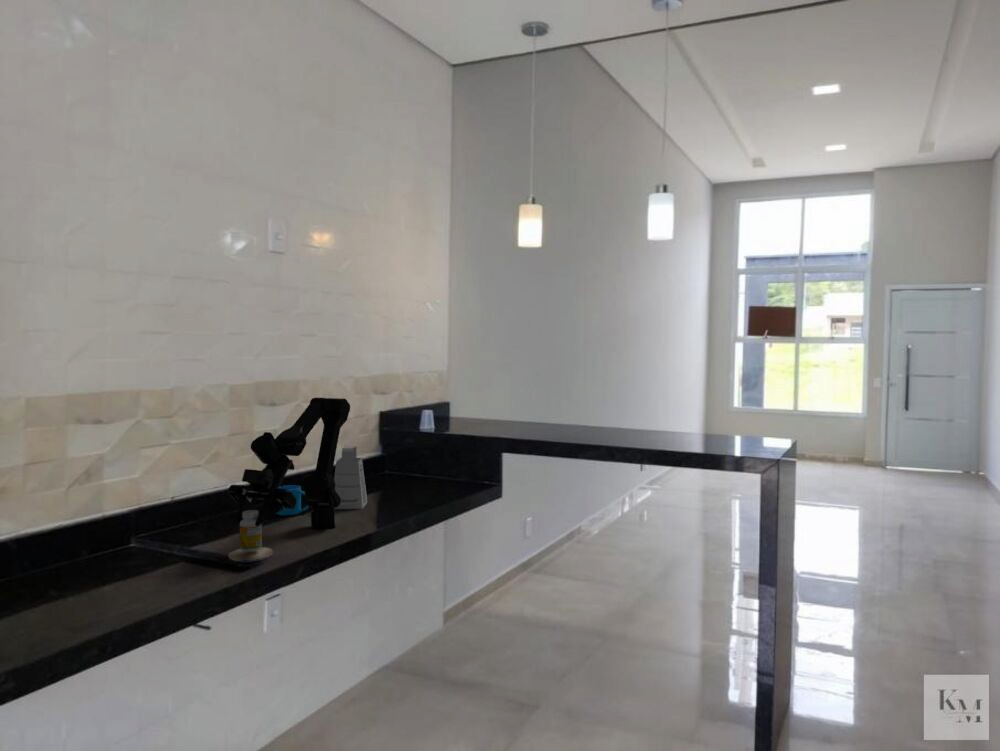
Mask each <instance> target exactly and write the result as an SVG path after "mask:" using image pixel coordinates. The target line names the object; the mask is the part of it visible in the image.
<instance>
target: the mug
mask: <svg viewBox="0 0 1000 751" xmlns="http://www.w3.org/2000/svg"><path fill="white" fill-rule="evenodd" d="M279 488H280V489H289V490H290V492H291V493H292V494H293V495H294V497H295V498H296V505H295V507H294V509H287V508H284V506H283V508H284V509H283V510H282V511H279V512H277V513H276V514H275V515H277V514H279V515H278V516H292V515H293V516H294V515H298V514H301V513H302V512H304V511H306V510H307V509H309V507H310V506H308V505H307V504H306V505H305V506H304V507H303V508H302V495H303V496H305V490H304V491H303V490H302V486H300V485H291V484H289V485H283V487H279Z"/></svg>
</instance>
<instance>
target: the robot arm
mask: <svg viewBox="0 0 1000 751" xmlns="http://www.w3.org/2000/svg"><path fill="white" fill-rule="evenodd" d="M350 411H351V404H350V403H349V401H348V400H347V399H346V398H337V397H336V398H335V397H332V398H331V397H328V398H327V397H312V398H311V399H310V401H309V404H308V405H307V407H306V408H305V409H304V411H303V412H302V413H301V415H300V416H299V417H298V418H297V419H296V421H295V423H293V425H291V427H289V428H286V429H285V430H283V431H281V432H280V433H279V434H278V435H277V436H276V438H275V437H274V435H273V433H272V432H268V431H264V432H263V434H262V435H259V436H258V437H257V436H256V438H255V439H254V440H252V441H251V444H250V450H251V451H252V452H253V453H254V455H255V456H256V457H257V459H258V460H259V461H260V463H262V464H264V465H265V467H264V468H263V469H262V470H257V469H249V468H246V469H244V472H243V475H242V478H241V482H243V483H248V484H249V485H248V486H249V488H251V489H252V490H249V489H248V488H247V487H246V486H245V485H243V484H231V485H230V486H229V487H228V489H227V490H226V493H227V494H228V495H229V496H230V497H231V498H232V500H233V501H234V502H235V503H236V504H238V511H237V517H236V523H237V524H238V525H240V522H241V521H242V520H243V518H242V513H243V512H244V511H247V510H254V507H255V506H254V504H253V503H251V502H252V499H253V500H261V501H264V502H263V505H262V507H261V510H260V512H259V515H258V518H257V520H256V522H255V525H256V526H259V525H260V524H264V522H266V521H267V520H268V519H270V518H271V517H273V516H274V515H277V514H276V513H277V512H279V511H282V510H283V509H284V508H287V509H294V507H295V505H296V498H295V497H294V495H293V494H292V493H291V492H290V490H289V489H280V488H279V487H283V486H285V483H284V479H285V476H286V475H287V473H288V470H289V471H290V470H292V471H294V470H295V465H294V461H293V459H290V458H289V457H299V456H300V455H301V454H302V453H303V451H304V449H305V447H306V445H307V437H308V435H309V434H310V433H311V431H312V430H313V429H314V428H315V426H316V425H317V423H318V422H319V421H320V419H321V421H322V423H323V429H322V435H321V438H320V439H321V440H320V444H319V451H318V455H317V461H316V462H317V463H316V465H315V471H314V473H312V475H308V476H307V478H306V484H305V486H304V492H305V495H304V497H305V500H306V505H308V506H309V507H312V509H311V512H310V525H311V526H312V529H313V530H314V529H319V530H320V529H334V528H336V521H335V520H336V519H335V518H336V517H335V511H336V509H335V507H338V506H339V505H340V501H341V498H340V496H339V495H338V494H337V492H336V491H335V481H334V477H333V469H334V465H335V459H336V458H335V457H336V454H337V448H338V442H339V438H340V431H341V428H342V427H343V425H345V423H346V422H347V420H348V417H349V414H350ZM288 456H289V457H288ZM283 506H284V508H283Z"/></svg>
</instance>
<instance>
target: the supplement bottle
mask: <svg viewBox="0 0 1000 751" xmlns="http://www.w3.org/2000/svg"><path fill="white" fill-rule="evenodd" d="M259 513H260V512H259V510H258V509H252V510H247V511H244V512H243V513H242V518H243V520H242V521H241V522H240V524H239V549H241V550H242V551H255V550H259V549H261V548H262V547H263V532H262V531H263V530H262V529H263V526H262V524H263V523H262V524H260V525H259V526H256V525H255V522H256V520H257V518H258V515H259Z"/></svg>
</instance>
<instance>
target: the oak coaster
mask: <svg viewBox="0 0 1000 751" xmlns="http://www.w3.org/2000/svg"><path fill="white" fill-rule="evenodd" d="M272 554H273V555H274V549H272V548H270V547H265V546H262V548H261V549H259V550H255V551H242V550H241V549H240V548H237V549H235V550H232V551H230V552H229V553H228V555H227V558H228V557H229V558H230V559H232V560H234V561H240V560H256V559H262V558H265V557H269V556H270V555H272Z"/></svg>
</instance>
